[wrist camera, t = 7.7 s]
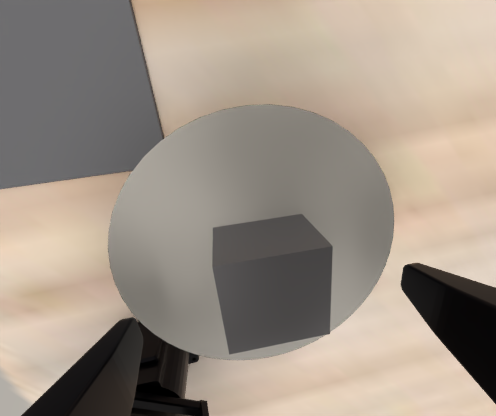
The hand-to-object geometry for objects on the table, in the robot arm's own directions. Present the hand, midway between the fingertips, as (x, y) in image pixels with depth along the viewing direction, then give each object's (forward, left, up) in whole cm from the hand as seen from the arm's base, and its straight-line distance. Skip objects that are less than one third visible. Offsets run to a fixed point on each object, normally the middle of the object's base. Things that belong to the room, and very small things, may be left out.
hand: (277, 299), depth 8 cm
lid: (0, 0, -3) cm, 3 cm away
